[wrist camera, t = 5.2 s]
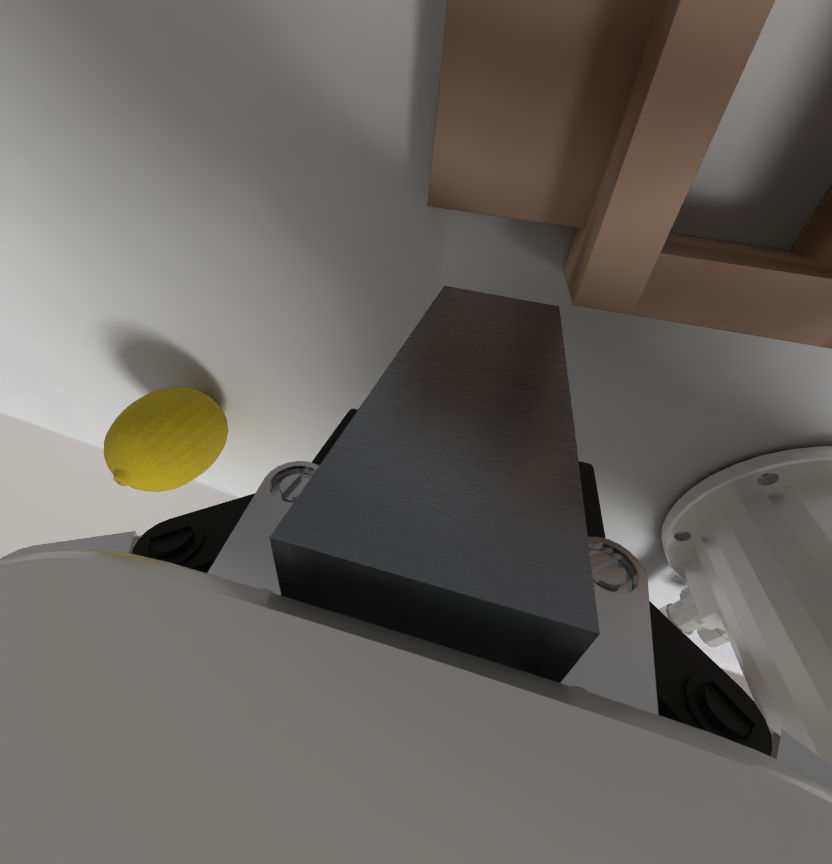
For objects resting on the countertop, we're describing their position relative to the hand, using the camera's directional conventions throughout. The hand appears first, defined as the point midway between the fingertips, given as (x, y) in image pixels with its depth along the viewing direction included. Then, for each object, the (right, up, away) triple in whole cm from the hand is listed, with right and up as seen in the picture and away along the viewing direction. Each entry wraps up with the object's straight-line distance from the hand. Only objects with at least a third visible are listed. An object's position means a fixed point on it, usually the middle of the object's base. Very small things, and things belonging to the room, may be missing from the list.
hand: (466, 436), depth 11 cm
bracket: (+1, +2, +3) cm, 3 cm away
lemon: (-15, +2, +16) cm, 22 cm away
